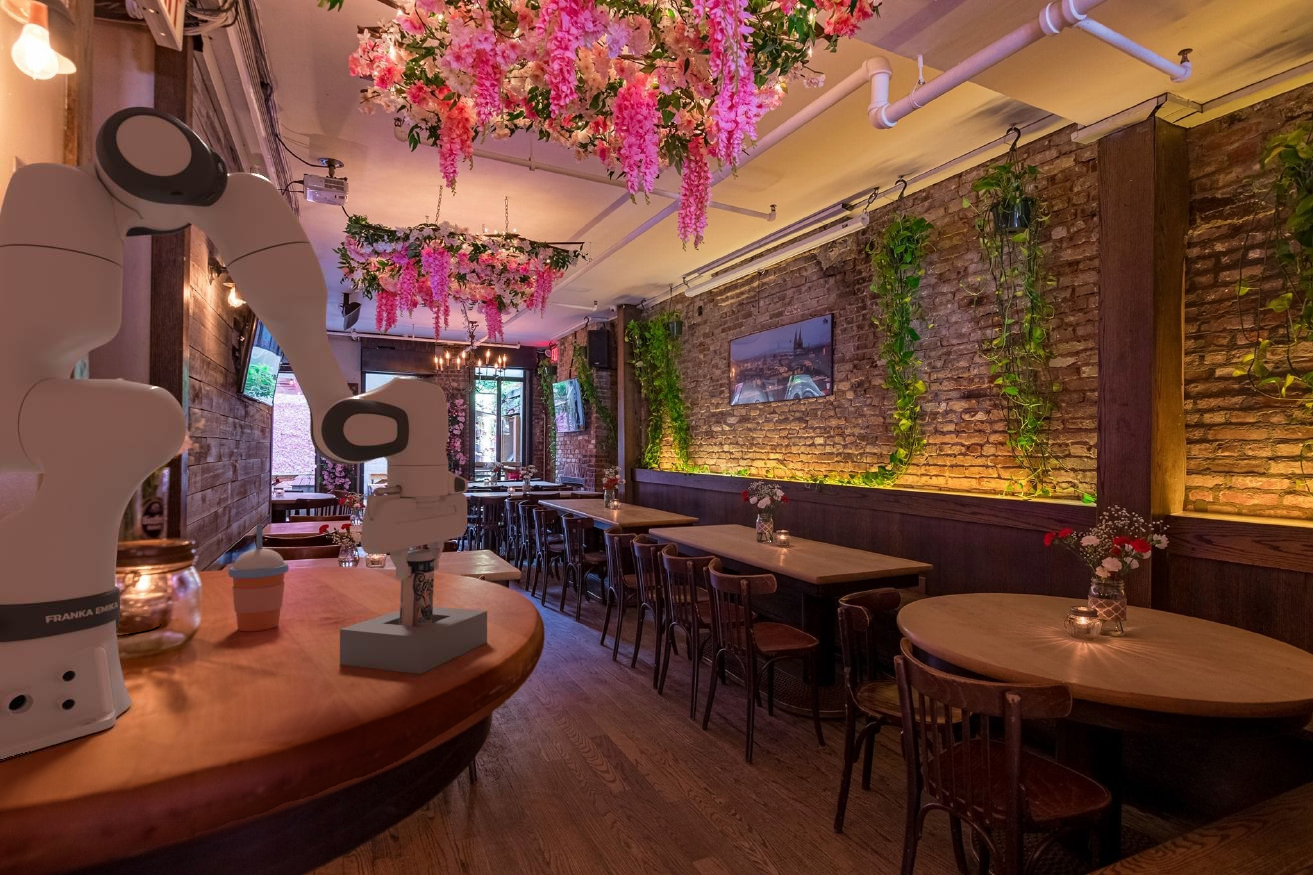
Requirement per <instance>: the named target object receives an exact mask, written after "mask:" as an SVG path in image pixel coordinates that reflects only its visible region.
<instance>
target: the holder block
mask: <svg viewBox="0 0 1313 875" xmlns="http://www.w3.org/2000/svg"><path fill="white" fill-rule="evenodd" d="M399 624H400V609H399V610H395V611H391V612H390V613H389V612H388V613H387V614H384V615H381V616H376V617H374V618H371V619H367V620H364V621H361V622H358V623H355V624H352V625H349V626H346V627H343V628H340V629H339V665H341V666H342V665H344V666H351V667H358V668H367V669H375V670H382V671H390V672H399V673H407V674H413V675H414V674H415V675H421V674H424V673H426V672H428V671H430V670H433V669H435V668H437V667H439V666H441V665H443V664H446V663H448V662H449V661H451V660H453V658H454V659H455V658H457V657H460V656H462V655H464V654H466V653H468V652H470V651H472V650H475V649H476V648H475V647H477V648H479V647H481V646H482V644H483V645H485V644H487V643H488V610H479V609H469V608H467V609H466V608H456V607H455V608H454V607H444V606H433V615H432V623H431V624H428V625H426V626H423V627H414V626H403V625H399ZM486 642H487V643H486ZM484 643H485V644H484ZM480 645H481V646H480ZM478 646H479V647H478ZM474 648H475V649H474ZM471 649H472V650H471Z"/></svg>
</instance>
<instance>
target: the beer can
mask: <svg viewBox="0 0 1313 875" xmlns="http://www.w3.org/2000/svg"><path fill="white" fill-rule="evenodd" d="M405 558H406V560H407V563H408V566H412V577H410V578H407V579H404V580H402V579H400V598H399V599H400V601H399V602H400V603H399V610H400V624H399V625H403V626H414V627H423V626H426V625H428V624H431V623H432V615H433V607H434V588H435V587H434V585H435V584H434V583H435V582H434V581H435V571H434V560H435V557H434V556H433V553H432V551H431V550H429V549H426V548H411V549H408V556H405Z"/></svg>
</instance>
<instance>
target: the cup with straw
mask: <svg viewBox="0 0 1313 875" xmlns="http://www.w3.org/2000/svg"><path fill="white" fill-rule="evenodd" d="M255 546H256V548H254V549H250V550H247V551H245V552H243V553H242V554H241V555H239V556H238V557H237V558H236V560H235V562H234V563H233V565H232V567H230V568H229V569H228V573H227V574H228V576H229V577H231V578H232V581H233V586H231V587H232V596H233V607H234V612H235V614H236V624H237V630H238V631H240V632H258V631H259V632H260V631H266V630H270V629H273V628H276V627H278V626H279V624H280V615H281V610H282V609H281V608H282V607H283V602H284V600H283V598H284V591H285V584H286V583H285V580H284V579H285V574H286V573H287V572H289V564H288V563H287V562H285V560H284V558H283V557H282V555H281V554H279V552H277V551H275V550H273V549H271V548H263V524H261V523H258V524H256V545H255Z"/></svg>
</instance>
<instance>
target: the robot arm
mask: <svg viewBox="0 0 1313 875" xmlns="http://www.w3.org/2000/svg"><path fill="white" fill-rule="evenodd" d="M99 128H100V129H98V132H97V135H96V138H95V139H96V140H95V153H96V159H95V160H94V162H89V163H88V164H86V165H77V166H76V165H75V166H72V165H68V164H62V163H58V162H36V163H30V164H26V165H24V166H21V167H20V168H18V169H16V170H15V171H14V172H13V174H12V176H11V177H10V178H9V182H8V185H7V188H6V191H5V194H4V197H3V200H2V205H1V210H0V474H2V475H4V474H5V475H6V474H11V475H12V474H13V475H14V474H43V476H42V477H43V478H42V480H41V485H40V487H39V490H38V492H37V493H36V495H35V497H33V499H32V501H31V502H29V504H28V505H26V506H25V507H23V508H21V509H18V510H17V511H14V512H12V513H10V514H8V515H7V516H5V517H3V518H2V519H0V759H3V760H5V759H4V758H7V757H9V756H13V757H15V756H14V755H15V754H20V753H23V754H26V753H25V752H27V753H30V752H33V751H36V750H40V749H43V748H47V747H50V746H52V745H56V744H60V743H64V742H68V741H69V740H70V741H71V740H73V739H76V738H80V737H84V736H88V735H91V734H93V733H97V732H100V731H103V730H107V729H110V728H111V727H113V726H114V725H115V724H116V721H117V717H119V716H120V715H121V714H122V713H123V712H126V711H127V709H129V707H130V706H131V704H132V700H131V697H130V694H129V692H128V689H127V686H126V683H125V679H124V675H123V670H122V666H121V661H120V654H119V647H118V646H119V644H118V636H117V633H116V631H117V630H118V626H119V621H120V598H121V593H120V592H121V589H120V588H119V587H117V585H116V579H117V578H116V572H117V557H118V556H117V555H118V543H119V542H118V541H119V534H120V527H121V524H122V523H121V522H122V519H123V516H124V514H125V511H126V509H127V507H128V505H129V502H130V501H131V499H132V498H133V496H134V494H136V492H137V490H138V489H139V487H140V486H141V485H142V484H143V483H144V482H145V481H146V480H147V479H148V478H149V477H150V476H151V475H152V474H153V473H154V472H156V471H157V470H158V469H160V468H161V467H163V466H165V465H166V464H168V463H169V462H171V460H172V459H173V458H174V457H175V456H176V455H177V454H178V453H179V451H180V450H181V447H182V446H183V445H184V443H185V440H186V439H185V438H186V436H187V435H186V434H187V419H186V416H185V415H186V414H185V412H184V410H183V407H182V406H181V404H180V402H179V401H178V400H177V398H176V397H175V396H174V395H173V394H172V393H171V392H169V391H168V390H167V389H165V388H163V387H160V386H155V385H151V384H146V383H142V382H141V383H140V382H136V381H132V380H123V379H120V378H119V379H118V378H117V379H115V378H71V375H72V372H73V370H74V369H75V367H76V365H77V364H78V363H79V361H80V360H81V359H82V358H83V357H84V356H85V355H86V354H88V353H89V352H91V351H92V350H94V349H97V348H99V347H101V346H104V345H106V344H108V343H109V342H110V341H112V340H113V339H114V338H116V335H117V334H118V332H119V331H120V328H121V327H122V316H123V315H122V314H123V313H122V312H123V311H122V310H123V286H124V285H123V279H124V278H123V276H124V248H125V246H124V245H125V240H126V238H127V237H128V238H129V237H140V236H141V237H142V236H143V237H144V236H166V235H167V236H168V235H173V234H178V233H181V232H182V231H185V230H187V229H188V228H189V227H191V226H194V227H196V228H197V229H199V230H200V231H202V232H203V233H204V235H206V236H207V237H208V238H209V240H210V241H211V243H212V244H213V245H214V247H216V249H217V251H218V254H219V256H220V258H221V260H222V262H223V264H224V267H225V268H226V270H227V273H228V274H229V276H230V278H231V280H232V281H233V283H234V286H235V287H236V289H237V290H238V292H239V294H240V295H241V296H242V298H243V299H244V302H246V304H247V305H248V306H249V308H250V309H251V310H252V312H253V313H254V314H255V315H256V317H257V318H258V320H259V322H260V323H261V324H262V325H263V326H264V328H265V330H267V331H268V333H269V334H270V336H271V337H272V339H273V340H274V341H275V342H276V344H277V345H278V347H279V348H280V350H281V351H282V353H283V355H284V357H285V358H286V360H287V363H288V365H289V367H290V369H291V371H292V373H293V375H294V378H295V380H296V381H297V383H298V386H299V388H300V390H301V391H302V393H303V394H302V395H303V396H304V398H305V401H306V403H307V405H308V408H309V414H310V419H309V420H310V425H309V433H310V438H311V439H310V440H311V443H312V445H313V447H314V449H315V450H316V452H317V453H318V454H319V455H320V456H322V458H324V459H325V460H327V461H329V462H331V463H333V464H337V465H343V466H350V465H355V464H356V465H357V464H364V463H367V462H371V461H374V460H376V459H383V458H385V459H386V462H387V463H386V467H387V468H386V487H383V486H382V487H380V486H379V487H377V488H374V490H373V491H372V492H371V493H370V494H369V496H367V498H366V506H365V508H364V512H363V517H362V523H361V525H362V526H361V532H360V547H361V549H362V550H363V552H364V553H365V554H374V555H384V554H388V553H389V558H390V560H391V561H392V563H393V566H394V567H395V578H396V580H401V579H402V580H404V579H407V578H410V577H412V566H408V563H407V560H406V558H405V556H408V550H409V549H413V548H416V547H421V546H425V545H426V547H427V548H429V549H428V550H431V551H432V553H433V556H434V557H435V560H434V572H435V571H437V570H439V559H441V555H442V553H443V550H444V548H445V541H448V540H452V539H456V538H461V537H464V534H465V533H466V530H467V527H468V499H467V496H466V493H467V491H468V489H469V481H468V479H466V478H465V477H462V476H460V475H457V474H455V473H453V471H449V459H448V456H447V444H448V443H447V442H448V440H449V432H450V431H449V410H448V403H447V398H446V394H445V391H444V389H443V388H442V387H441V386H440V385H439V384H437V383H436V382H434V381H432V380H429V379H425V378H421V377H415V376H409V375H406V376H405V375H400V376H395V377H393V378H392V379H391V380H390V381H388V382H386V383H384V384H383V385H381V386H378V387H377V388H374V389H371V390H368V391H366V392H364V393H363V392H362V393H360V394H356V395H354V393H353V392H352V391H351V389H350V386H349V384H348V382H347V380H346V378H345V376H344V373H343V372H342V370H341V367H340V365H339V363H338V361H337V358H336V356H335V354H334V352H333V349H332V346H331V344H330V341H329V337H328V331H327V308H328V299H329V298H328V297H329V296H328V294H329V293H328V288H327V283H326V279H325V276H324V273H323V269H322V266H321V263H320V261H319V259H318V256H317V253H316V252H315V250H314V247H313V245H312V243H311V241H310V239H309V237H308V235H307V233H306V231H305V229H304V227H303V226H302V224H301V221H300V220H299V219H298V217H297V215H296V214H295V213H294V211H293V209H292V208H291V206H290V205H289V204H288V202H287V200H286V199H285V197H284V196H283V194H282V193H281V192H280V191H279V189H278V188H277V187H276V185H275V184H274V183H273V182H272V181H271V180H269V179H268V178H266V177H264V176H263V175H260V174H257V173H252V172H242V171H241V172H240V171H239V172H230V173H228V167H227V162H226V161H225V159H224V158H223V157H222V156H220V154H219V153H217V152H216V151H215V150H213V149H212V148H211V147H209V146H208V145H207V144H206V143H205V142H204V141H203V140H202V139H201V138H200V137H199V135H197V134H196V133H195V132H194V130H192V129H191V128H190V127H189V126H188V125H187V124H186V123H184V122H183V121H181V120H180V119H178V118H177V117H176V116H173V115H171V113H168V112H165V111H163V110H161V109H157V108H155V107H154V108H153V107H149V106H148V107H147V106H132V107H126V108H123V109H120V110H118V111H116V112H114V113H113V114H112V115H110V116H109V117H107V119H106V120H105V121H104V122H103V123H102V125H101V126H100V127H99ZM220 165H221V166H220ZM464 493H465V494H464ZM29 751H30V752H29ZM20 755H21V754H20ZM7 759H8V758H7Z"/></svg>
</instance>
